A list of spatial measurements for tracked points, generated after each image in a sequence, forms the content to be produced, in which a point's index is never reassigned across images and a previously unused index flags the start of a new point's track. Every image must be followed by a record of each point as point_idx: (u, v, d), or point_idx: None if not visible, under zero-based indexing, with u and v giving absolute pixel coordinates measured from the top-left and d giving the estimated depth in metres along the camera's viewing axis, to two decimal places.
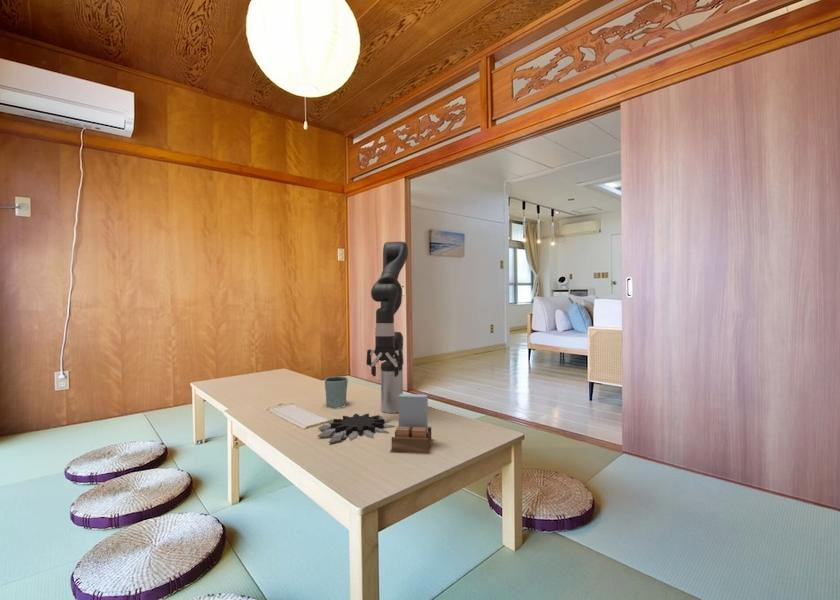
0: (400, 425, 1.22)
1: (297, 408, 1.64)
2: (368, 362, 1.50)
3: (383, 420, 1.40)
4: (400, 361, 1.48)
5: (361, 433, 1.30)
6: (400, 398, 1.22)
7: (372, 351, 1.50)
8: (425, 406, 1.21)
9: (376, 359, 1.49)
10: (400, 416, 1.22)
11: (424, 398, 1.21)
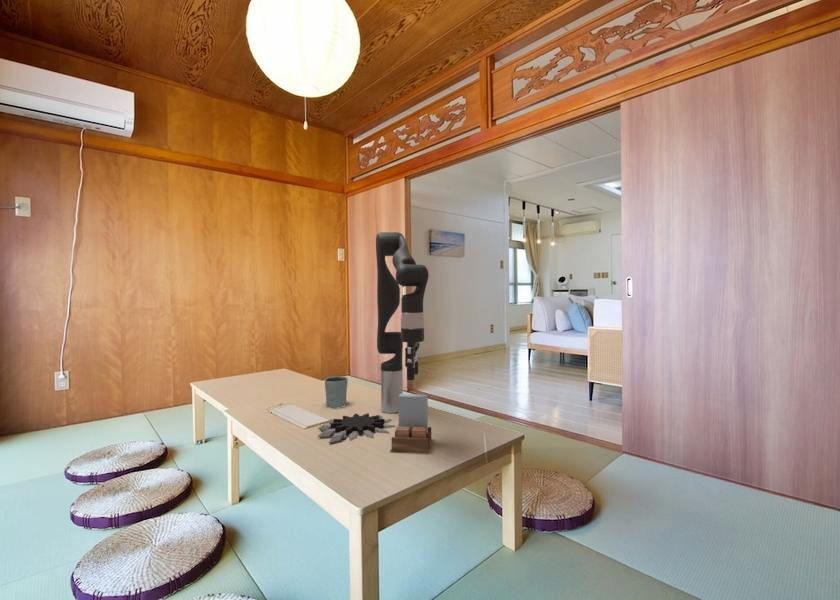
0: (400, 425, 1.22)
1: (297, 408, 1.64)
2: (413, 363, 1.17)
3: (383, 420, 1.40)
4: None
5: (361, 433, 1.30)
6: (400, 398, 1.22)
7: None
8: (425, 406, 1.21)
9: (416, 357, 1.20)
10: (400, 416, 1.22)
11: (424, 398, 1.21)
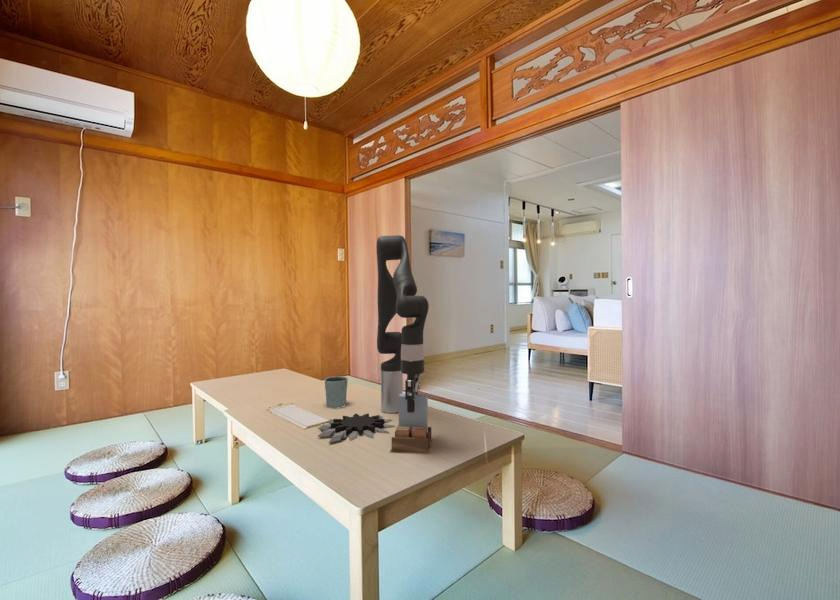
0: (400, 425, 1.22)
1: (297, 408, 1.64)
2: (413, 396, 1.17)
3: (383, 420, 1.40)
4: None
5: (361, 433, 1.30)
6: (400, 398, 1.22)
7: None
8: (425, 406, 1.21)
9: (416, 389, 1.20)
10: (400, 416, 1.22)
11: (424, 398, 1.21)
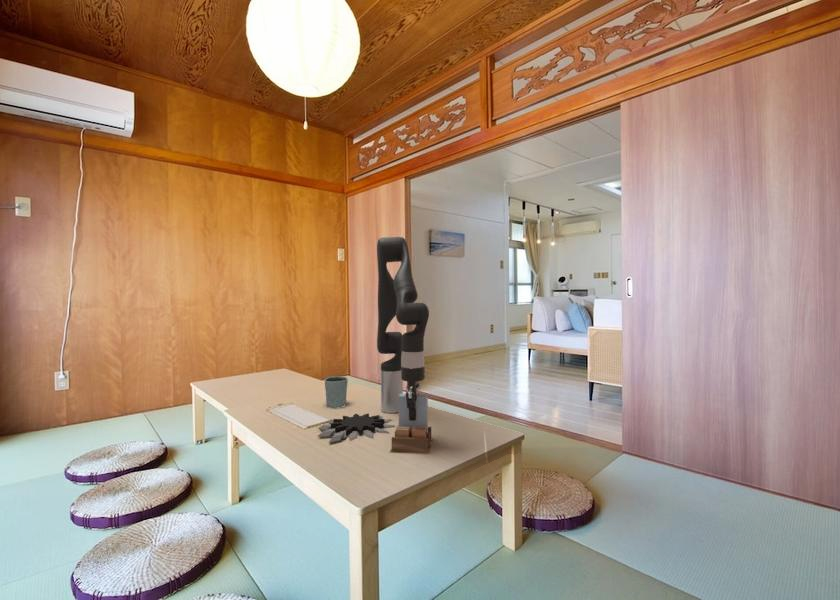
0: (400, 425, 1.23)
1: (297, 408, 1.64)
2: (415, 405, 1.19)
3: (383, 420, 1.40)
4: None
5: (361, 433, 1.30)
6: (400, 398, 1.22)
7: (412, 392, 1.19)
8: (425, 406, 1.21)
9: (417, 397, 1.21)
10: (400, 416, 1.22)
11: (424, 398, 1.21)
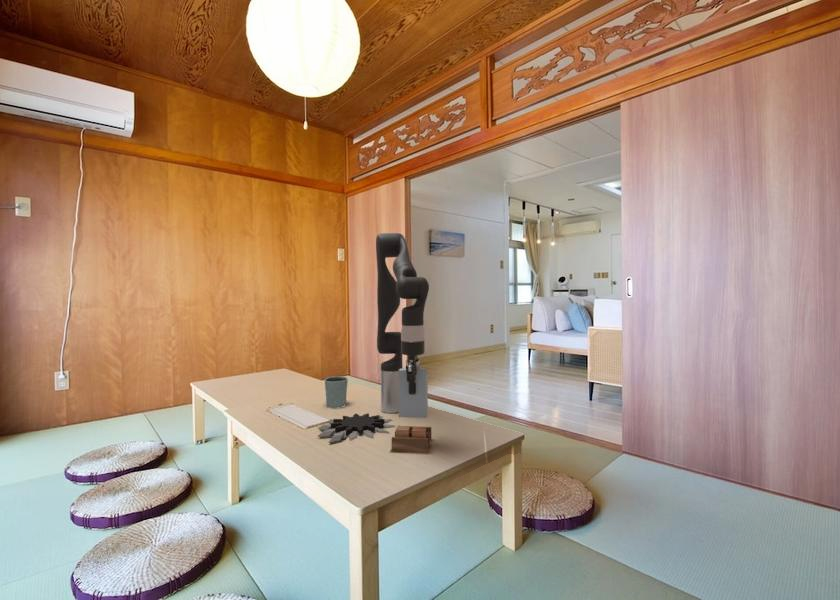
0: (400, 399, 1.23)
1: (297, 408, 1.64)
2: (415, 378, 1.19)
3: (383, 420, 1.40)
4: None
5: (361, 433, 1.30)
6: (400, 372, 1.22)
7: None
8: (425, 380, 1.21)
9: (417, 371, 1.21)
10: (400, 390, 1.22)
11: (424, 372, 1.21)
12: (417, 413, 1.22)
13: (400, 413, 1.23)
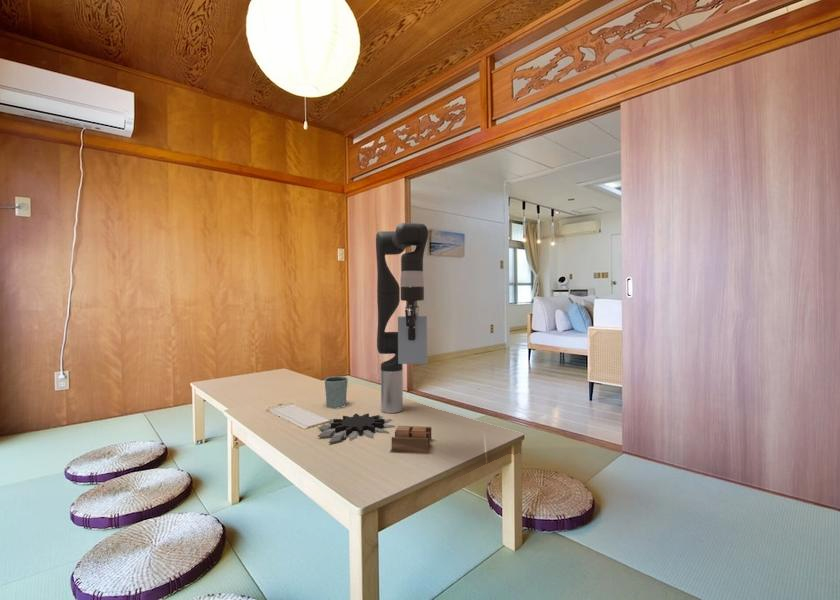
0: (399, 346, 1.22)
1: (297, 408, 1.64)
2: (414, 323, 1.19)
3: (383, 420, 1.40)
4: None
5: (361, 433, 1.30)
6: (399, 318, 1.22)
7: None
8: (424, 326, 1.21)
9: (416, 317, 1.21)
10: (399, 337, 1.22)
11: (423, 318, 1.21)
12: (416, 359, 1.22)
13: (399, 360, 1.22)
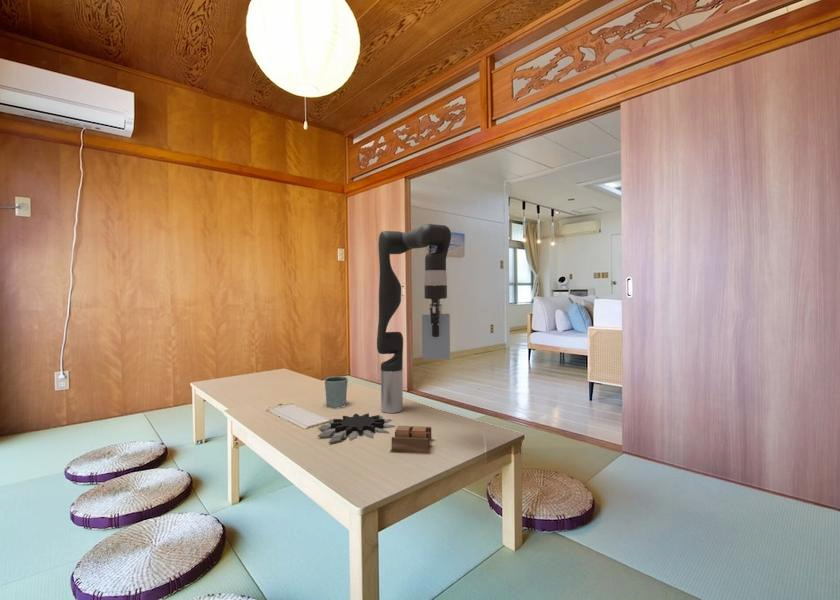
0: (423, 342, 1.27)
1: (297, 408, 1.64)
2: (438, 320, 1.24)
3: (383, 420, 1.40)
4: None
5: (361, 433, 1.30)
6: (423, 316, 1.27)
7: None
8: (448, 323, 1.26)
9: None
10: (423, 333, 1.27)
11: (447, 315, 1.26)
12: (440, 354, 1.27)
13: (424, 355, 1.27)
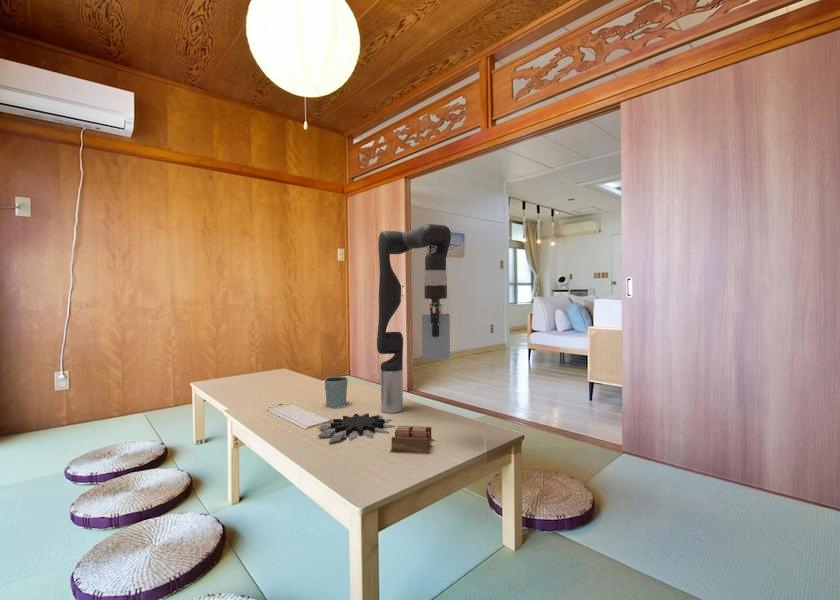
0: (423, 342, 1.27)
1: (297, 408, 1.64)
2: (438, 320, 1.24)
3: (383, 420, 1.40)
4: None
5: (361, 433, 1.30)
6: (423, 316, 1.27)
7: None
8: (448, 323, 1.26)
9: None
10: (423, 333, 1.27)
11: (447, 315, 1.26)
12: (440, 354, 1.27)
13: (424, 355, 1.27)
